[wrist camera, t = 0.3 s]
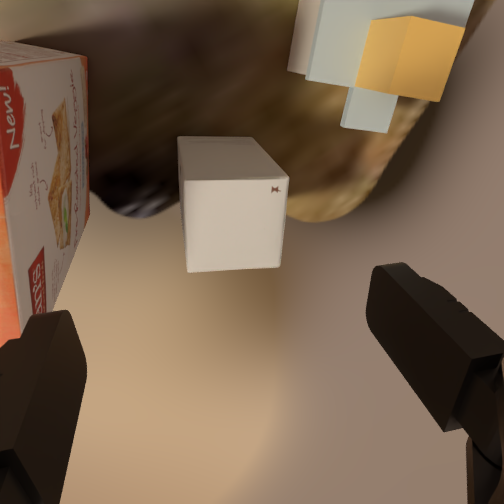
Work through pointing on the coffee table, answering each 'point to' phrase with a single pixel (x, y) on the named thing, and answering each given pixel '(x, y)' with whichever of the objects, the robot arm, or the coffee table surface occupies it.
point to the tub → (303, 35)
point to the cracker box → (40, 177)
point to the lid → (385, 53)
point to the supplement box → (230, 203)
